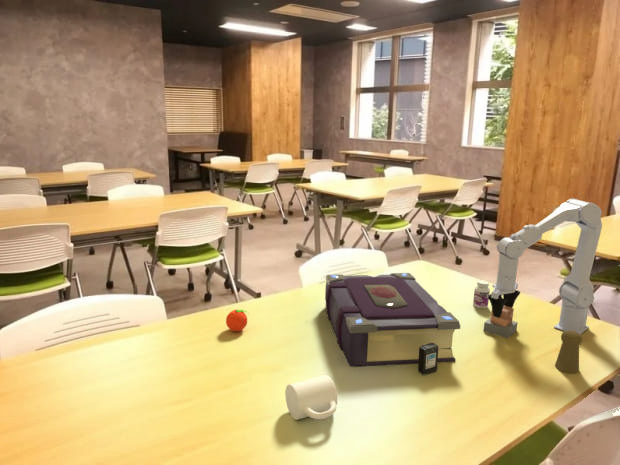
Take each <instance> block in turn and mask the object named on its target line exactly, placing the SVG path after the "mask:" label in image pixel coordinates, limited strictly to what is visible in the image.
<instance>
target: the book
mask: <svg viewBox="0 0 620 465" xmlns="http://www.w3.org/2000/svg"><path fill="white" fill-rule="evenodd" d="M325 281H326V283H325V289H324V290H325V291H324V292H325V293H324V294H325V297H324V299H325V300H324V301H325V309H326V317H327V319H328V321H329V322H330V325H331V328H332V332H333V334H334V336H335V339H336V343H337V345H338V347H339V349H340V350H341V351H342V353H343V355H344V357H345V359H346V361H347V363H348V365H349V367H353V368H357V367H358V368H359V367H377V366H379V367H380V366H397V365H398V366H399V365H414V364H415V365H416V364H418V361H419V348H420V346H422V345H426V344H428V343H434V344H436V345H437V346H439V347H438V361H437V364H438V363H453V362H454V363H455V362H456V358H455V357H454V352H453V348H452V345H453V338H454V337H453V335H454V333H455V331H456V330H461V324H460V321H459V320H458V318H456V317H455V316H454V314H453V313H451V312H450V311H447V309H446V308H444V307H443V306H441V305H440V304H439V303H438V301H437V299H435V298H434V297H433V296H432V295H431V294H429V292H428V291H427V290H426V289H425V288H424V287H422V286H421V285H420V283H418V282H417V281H416V277H415V276H413V275H412V274H411V273H410V272H394V273H393V272H392V273H390V274H380V275H379V274H378V275H375V276H372V275H367V274H359V275H358V274H357V275H344V274H341V273H339V274H326V275H325Z"/></svg>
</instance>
